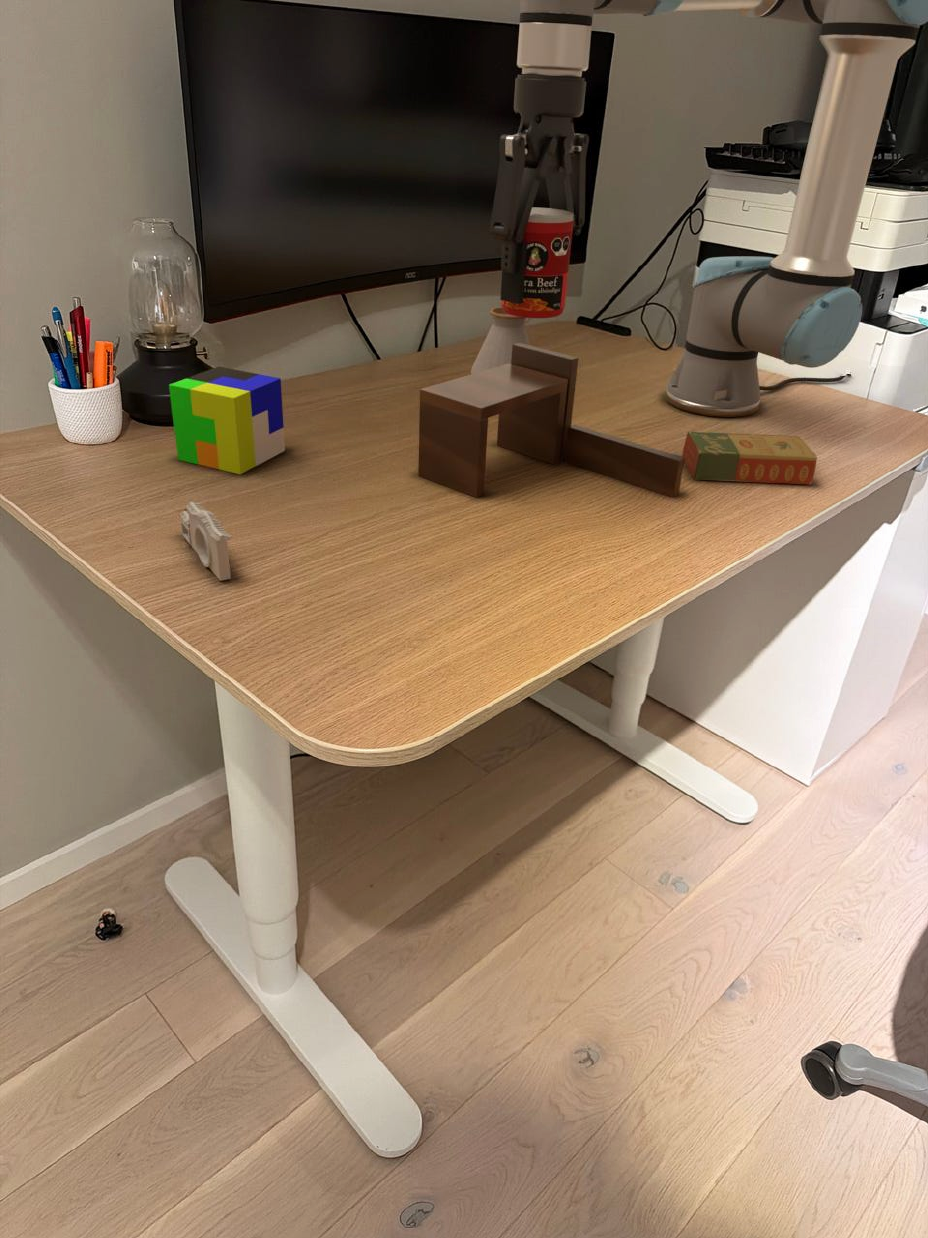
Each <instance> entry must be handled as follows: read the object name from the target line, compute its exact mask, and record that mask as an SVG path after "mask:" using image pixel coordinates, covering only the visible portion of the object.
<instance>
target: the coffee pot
mask: <svg viewBox="0 0 928 1238" xmlns="http://www.w3.org/2000/svg"><path fill="white" fill-rule="evenodd" d="M488 312H489V314H490V315H491V317H492V318H491V319H492V325H491V327H490V329H489V331H488V333H487V335H486V337H485V340H484V341H483V344H482V346H481V348H480V350H479V352H478V353H477V356H476V359H475V361H474V362H473V364H472V366H471V369H470V375H471V374H474V373H478V372H481V371H484V370H488V369H491V368H495V367H498V366H502V365H505V364H508V363H509V364H511V358H512V345H513V344H516V343H522V344H526V345H530V346H531V344H530V343H531V342H530V339H529V337H528V334H527V330H526V328H525V325H527V323H528V322H529V321H530V320H531V319H532V318H524V317H518V316H513V315H510V314H507V313H506V312H504V311H503V309H502V306H499V307H493V308H491V309H490V310H489V311H488Z"/></svg>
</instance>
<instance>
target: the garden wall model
mask: <svg viewBox="0 0 928 1238" xmlns="http://www.w3.org/2000/svg"><path fill="white" fill-rule="evenodd" d="M185 509H186V510H184V511H183V512H181V513H179V514H178V517H179V518H180V519H181V520H180V529H181V535H182V536H183V538H184V539H185V541H186V542H188V544H189V545H190V546H191V549H193V550H194V551H195V553H196V554H197V555H198V557H199V560H200V562H201V564H202V565H203V566H204V567H205V568H209V570H210V571H211V572H212V573H213V574H214V576H216V578H217V579H218V580H219V581H220V582H221V581H226V580H230V579H232V577H231V566H230V557H229V544H228V541H230V540H231V538H232V535H231V534H229V533H228V532H227V531H226V530H225V529H224V527H223V525H222V524H221V523H222V522H221V521H220V520H219V519H218V517H217V516H216V514H214V512H212V511H211V510H206V509H205V507H203V505H202V503H199V502H198V503H196V502H194V501H189V504H188V505H186V506H185Z"/></svg>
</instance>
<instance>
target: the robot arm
mask: <svg viewBox="0 0 928 1238" xmlns="http://www.w3.org/2000/svg"><path fill="white" fill-rule="evenodd" d="M519 5H520V7H519V30H518V31H519V32H518V45H517V57H516V59H517V60H516V66H517V67H518V68H520V69H521V74H517V77H515V81H514V83H515V84H514V97H513V98H514V99H513V111H514V112H515V113H516V114H518V115H520V117H521V118H520V125H519V128H518V131H517V133H515V134H512V135H511V134H502V135H501V136H500V137H499V166H498V173H497V180H496V186H495V192H494V199H493V205H492V212H491V217H490V226H489V233H490V235H491V236H494V239H495V240H500V241H501V243H502V245H501V258H500V259H501V262H500V269H501V282H500V283H501V284H500V299H499V300H500V301H501V300H503V301H508V302H512V303H517V304H521V303H523V294H524V281H525V268H526V254H527V243H526V242H521V241H522V239H523V236H524V233H525V229H526V226H527V223H528V220H529V216H530V213H531V210H532V207H534V203H535V199H536V197H537V193H538V189H539V186H540V183H541V182H542V181H544V180H545V182H546V189H547V195H548V203H549V208H552V209H560V210H565V211H569V212H571V213H573V231H572V236H573V235H574V236H579V235H581V231H582V227H584V225H585V221H586V219H585V218H586V217H585V216H586V163H587V162H586V161H587V159H586V158H587V152H588V146H589V142H590V136H589V135H588V134H586V133H575V129H574V119H575V118H579V117H581V116H582V115H583V114H584V109H585V99H586V97H585V96H586V88H587V81H585V77H582V75H583V72H586V71H587V70H588V69H589V62H590V50H591V40H592V39H591V37H592V26H593V17H594V15H618V14H633V15H634V14H635V15H642V16H643V17H652V16H666V15H670V14H671V13H673V12H685V11H686V12H687V11H688V12H689V11H690V12H691V11H716V10H717V11H719V10H720V11H721V10H737V11H738V12H739V14H740V15H742V16H744V17H745V18H746V17H747V18H749V19H750V18H752V19H754V18H756V19H757V18H769V19H776V20H783V21H789V22H795V23H801V24H810V25H821V30H820V33H819V37H818V38H819V41H820V43H821V45H822V46H823V48H824V49H825V51H826V56H827V57H826V61H825V66H824V71H823V75H822V78H821V79H822V80H821V84H820V89H819V93H818V96H817V97H818V98H817V103H816V106H815V109H814V110H815V111H814V115H813V119H812V120H813V121H812V124H811V128H810V133H809V137H808V141H807V142H808V143H807V147H806V151H805V154H804V155H805V156H804V160H803V165H802V168H801V173H800V178H799V182H798V187H797V191H796V196H795V200H794V204H793V209H792V214H791V218H790V222H789V226H788V230H787V231H788V232H787V234H786V240H785V245H784V249H783V251H781V253H779V254H778V255H777V256H776V257H771V256H756V255H755V256H743V255H742V256H740V255H739V256H717V257H716V256H715V257H708V258H706V259H704V260H702V262H701V264H700V265H699V266H698V270H697V274H696V279H695V283H694V284H693V292H692V299H691V303H690V304H691V305H690V312H689V318H688V325H687V332H686V338H685V345H684V349H683V352H682V353H683V354H682V356H681V357H680V360H679V362H678V363H677V365H676V367H675V369H674V371H673V373H672V375H671V377H670V379H669V381H668V383H667V386H666V391H665V395H664V397H665V401H666V402H667V403H668V404H670V405H671V406H673V407H675V408H677V409H679V410H682V411H685V412H688V413H692V414H697V415H703V416H710V417H718V418H719V417H721V418H723V417H724V418H737V417H738V418H739V417H744V416H745V417H746V416H750V415H752V414H754V413H756V412H758V410H759V408H760V402H761V391H764V392H765V391H766V392H767V391H769V392H770V391H774V390H778V389H779V388H782V387H783V386H785V385H788V384H790V383H791V384H792V383H799V382H802V383H803V382H807V383H809V382H810V383H837V382H840V381H843V380H844V379H845V378H846V376H847V377H852V373H851V374H847V375H846V376H841V375H840V376H837V377H792V378H787V379H784V380H782V381H780V382H779V383H776V384H774V385H770V386H764V385H760V380H759V372H758V356H759V354H761V355H765V356H768V357H771V358H774V359H776V360H780V361H783V362H784V363H786V364H788V365H792V366H793V365H796V366H801V367H804V368H809V369H812V368H813V369H814V368H819V367H822V366H825V365H826V364H828V363H830V362H832V361H833V360H834V359H836V358H837V357H838V356H839V355H840V353H841V352H843V351H844V350H845V349H846V348H847V346H848V345H849V344H850V343H851V341H852V339H853V338H854V337H855V335H856V332H857V330H858V327H859V325H860V322H861V320H862V317H863V303H862V298H861V295H860V294H859V293H858V292H857V291H856V290H855V289H854V288H851V287H852V283H853V280H854V276H855V269H854V268H853V266H852V265H851V262H850V261H849V260H848V259H849V258H848V254H849V250H850V247H851V242H852V238H853V235H854V231H855V227H856V223H857V219H858V216H859V212H860V208H861V204H862V200H863V197H864V192H865V189H866V184H867V180H868V177H869V172H870V169H871V165H872V162H873V157H874V154H875V149H876V146H877V142H878V137H879V134H880V130H881V127H882V124H883V123H882V122H883V119H884V114H885V111H886V107H887V103H888V99H889V95H890V92H891V87H892V84H893V80H894V76H895V72H896V68H897V64H898V60H899V59H900V58H901V56H903V54H905V53H906V52H907V51H908V50H909V49H911V48H912V47H913V46H914V45H915V44H916V40H917V36H918V33H919V30H920V26H922V25H924V24H927V22H928V0H520V4H519ZM515 227H516V229H514V228H515Z"/></svg>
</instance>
